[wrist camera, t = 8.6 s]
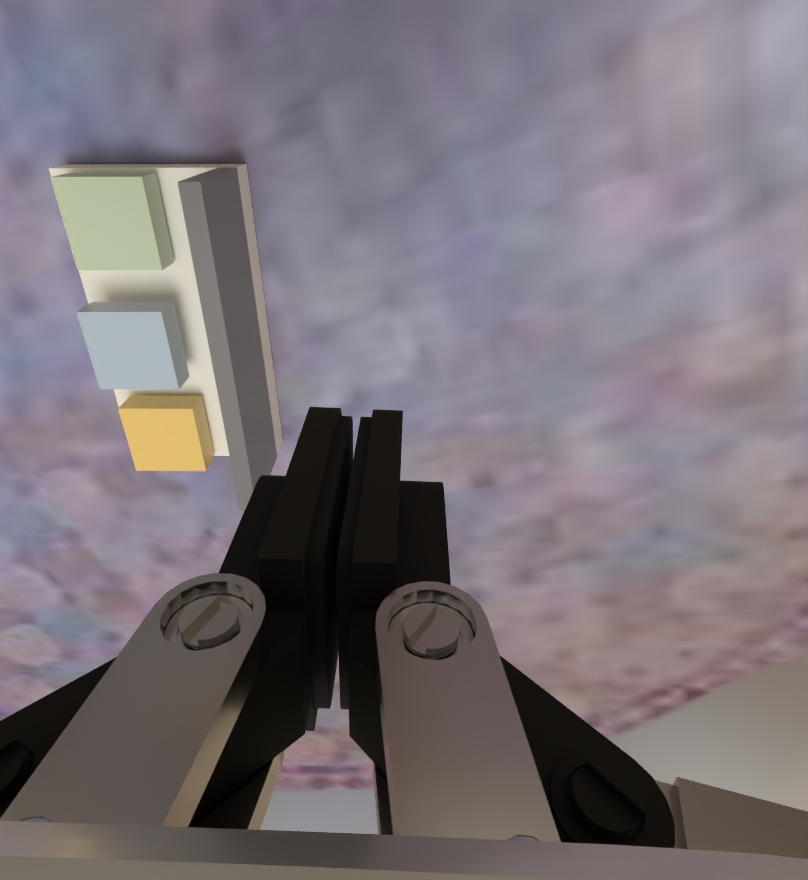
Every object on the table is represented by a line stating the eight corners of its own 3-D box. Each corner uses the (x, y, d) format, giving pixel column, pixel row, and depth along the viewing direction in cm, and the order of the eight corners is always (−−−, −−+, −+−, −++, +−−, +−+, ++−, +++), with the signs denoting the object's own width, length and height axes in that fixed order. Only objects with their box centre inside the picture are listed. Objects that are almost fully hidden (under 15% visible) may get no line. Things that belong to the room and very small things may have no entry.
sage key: (68, 172, 30) (50, 176, 28) (155, 172, 30) (141, 176, 28) (93, 262, 32) (77, 270, 31) (174, 262, 32) (162, 270, 31)
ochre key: (130, 395, 37) (118, 408, 35) (201, 395, 37) (192, 408, 35) (147, 455, 39) (136, 470, 37) (214, 456, 39) (206, 471, 37)
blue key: (92, 301, 32) (76, 311, 31) (173, 301, 32) (161, 312, 31) (114, 376, 35) (100, 389, 33) (189, 376, 35) (179, 389, 33)
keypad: (68, 164, 32) (-27, 182, 25) (246, 163, 32) (200, 181, 25) (144, 440, 41) (90, 508, 34) (282, 441, 41) (256, 510, 34)
